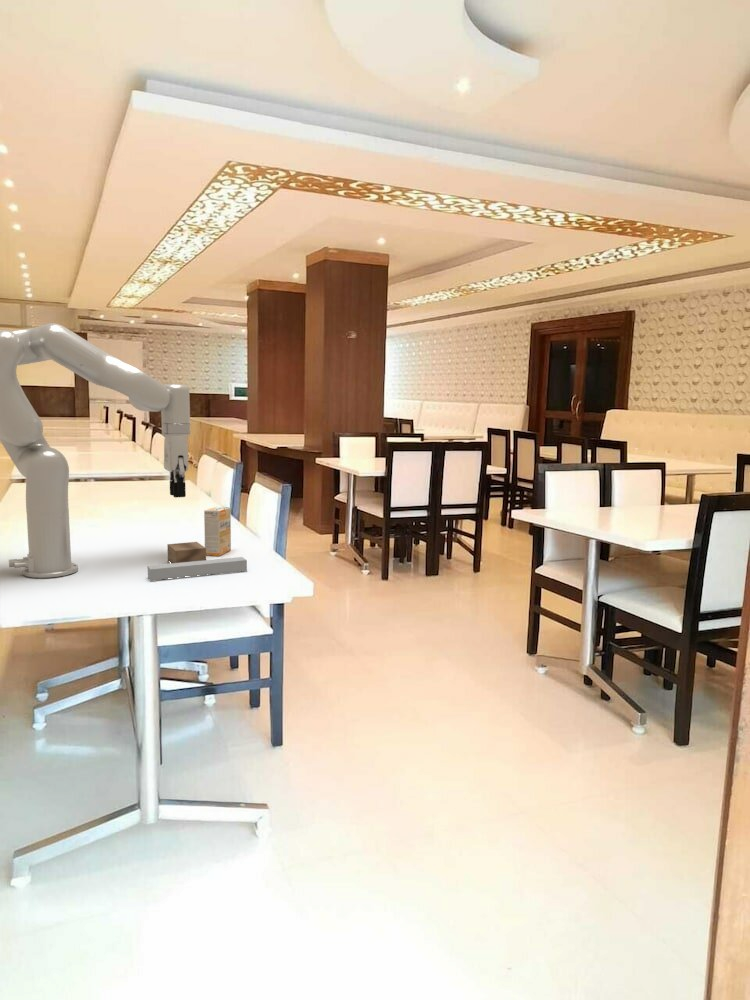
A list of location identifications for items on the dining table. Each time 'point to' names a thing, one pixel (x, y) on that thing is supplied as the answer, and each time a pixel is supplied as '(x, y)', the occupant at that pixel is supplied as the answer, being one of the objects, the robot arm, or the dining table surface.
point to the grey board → (197, 568)
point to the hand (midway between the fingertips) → (177, 495)
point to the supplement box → (217, 530)
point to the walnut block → (186, 552)
